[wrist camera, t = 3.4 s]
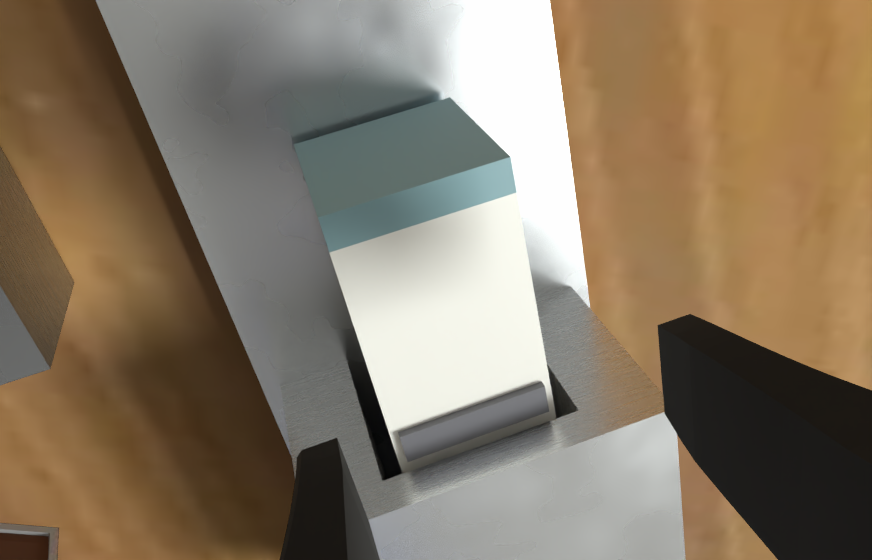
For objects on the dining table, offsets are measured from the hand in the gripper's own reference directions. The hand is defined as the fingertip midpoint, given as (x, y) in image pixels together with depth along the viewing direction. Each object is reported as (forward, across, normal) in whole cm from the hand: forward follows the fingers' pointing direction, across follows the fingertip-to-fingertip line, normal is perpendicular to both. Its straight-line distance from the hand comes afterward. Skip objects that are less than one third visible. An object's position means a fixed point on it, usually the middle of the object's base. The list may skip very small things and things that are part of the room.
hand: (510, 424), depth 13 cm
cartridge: (+9, 0, +4) cm, 10 cm away
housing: (+10, 0, +3) cm, 10 cm away
